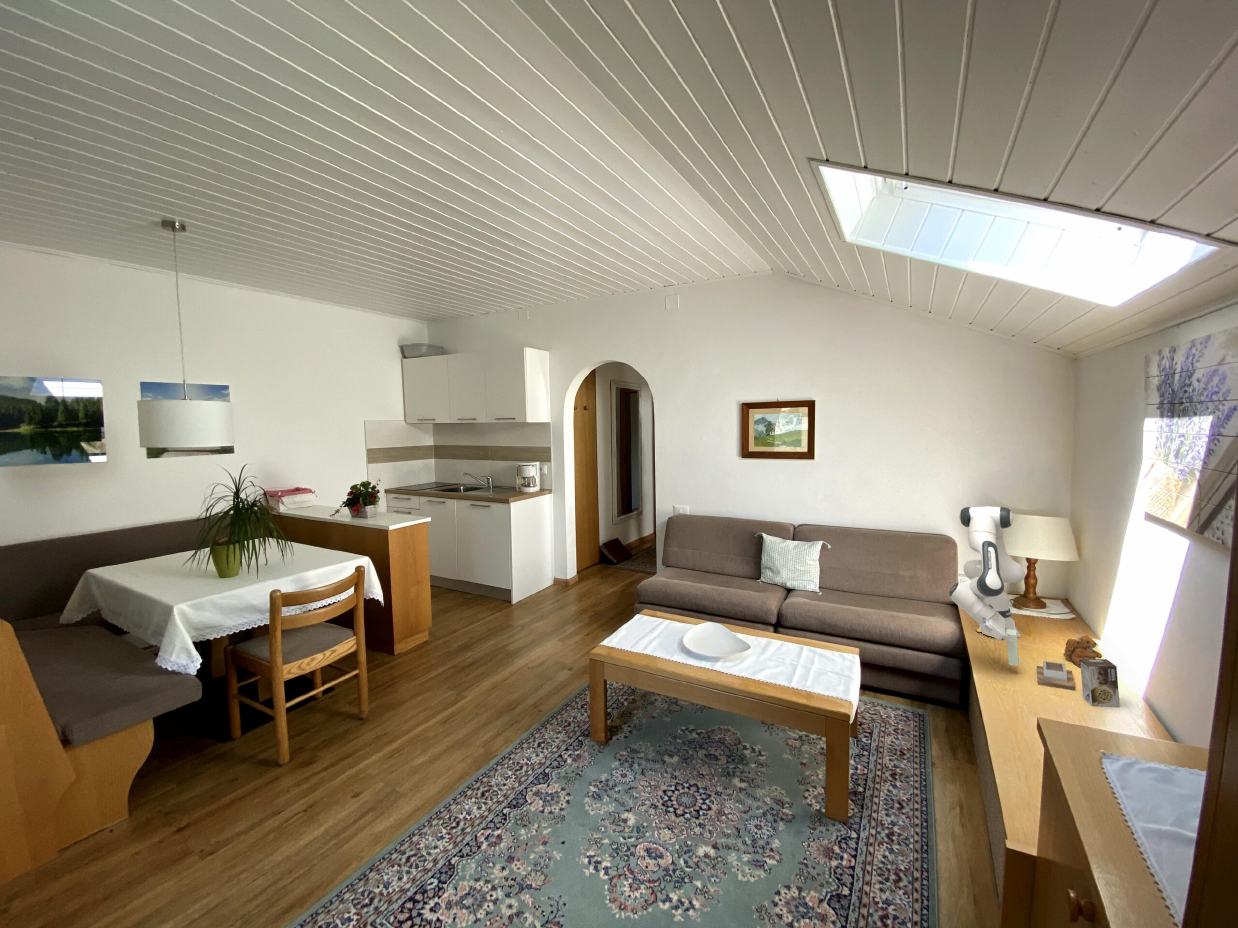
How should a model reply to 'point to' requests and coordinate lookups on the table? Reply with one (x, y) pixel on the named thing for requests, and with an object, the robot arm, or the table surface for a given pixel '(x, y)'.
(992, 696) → the table surface
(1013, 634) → the pale green rectangular block
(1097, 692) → the coffee box
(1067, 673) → the wooden base with socket
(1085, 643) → the stuffed squirrel
